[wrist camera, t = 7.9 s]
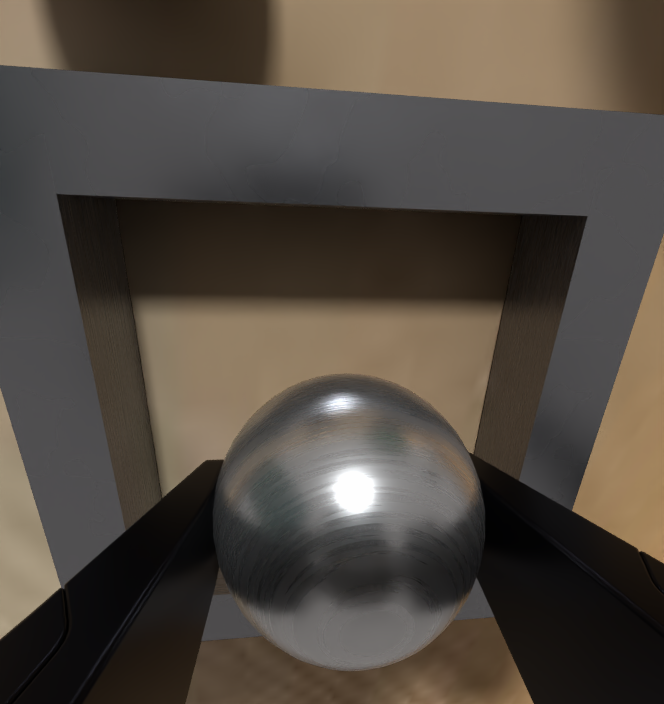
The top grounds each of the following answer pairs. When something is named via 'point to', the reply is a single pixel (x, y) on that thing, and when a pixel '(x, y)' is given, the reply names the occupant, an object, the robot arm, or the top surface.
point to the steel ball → (348, 522)
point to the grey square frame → (303, 191)
